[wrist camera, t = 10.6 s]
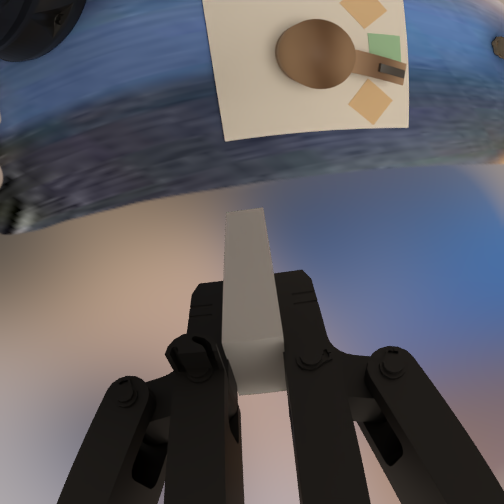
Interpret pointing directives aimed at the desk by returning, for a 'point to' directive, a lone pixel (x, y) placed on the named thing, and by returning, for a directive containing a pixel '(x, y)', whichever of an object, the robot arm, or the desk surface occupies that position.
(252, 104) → the board
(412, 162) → the desk surface
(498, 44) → the handle
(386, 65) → the brown frying pan
